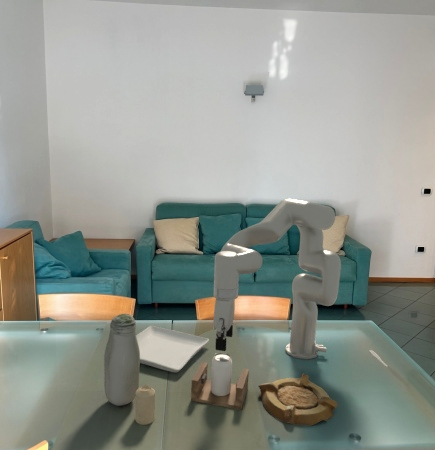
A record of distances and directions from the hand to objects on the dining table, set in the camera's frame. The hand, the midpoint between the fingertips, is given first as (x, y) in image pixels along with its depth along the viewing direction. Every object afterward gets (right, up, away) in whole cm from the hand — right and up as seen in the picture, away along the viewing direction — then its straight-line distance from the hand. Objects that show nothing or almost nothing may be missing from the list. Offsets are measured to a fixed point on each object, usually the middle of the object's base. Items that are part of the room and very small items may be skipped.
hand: (224, 343), depth 140 cm
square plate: (-23, -12, +29) cm, 39 cm away
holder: (-1, -17, +3) cm, 18 cm away
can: (-1, -17, +3) cm, 17 cm away
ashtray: (+23, -20, +1) cm, 30 cm away
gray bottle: (-31, -17, -4) cm, 36 cm away
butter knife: (+62, -17, +27) cm, 70 cm away
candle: (-23, -19, -11) cm, 32 cm away
